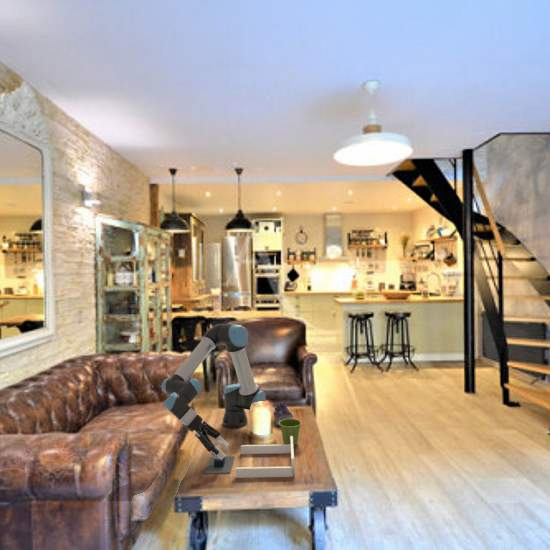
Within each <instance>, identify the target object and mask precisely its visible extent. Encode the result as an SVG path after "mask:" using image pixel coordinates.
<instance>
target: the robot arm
mask: <svg viewBox="0 0 550 550" xmlns="http://www.w3.org/2000/svg"><path fill="white" fill-rule="evenodd" d="M248 342H249V332H248V330H247V329H246V327H244V325H241V324H235V323H234V324H232V323H231V324H230V323H229V324H228V323H219V324H216V325H214V326H212V327H211V328H210V329H208V330H207V331H206V332H205V333H204V334H203V335H202V337H201V338H200V342H199V343H198V344H197V345H196V347H195V348H194V349H193V350H192V352H191V353H190V354H189V356H187V358H186V359H185V361H183V362H182V364H181V365H180V366H179V367H178V369H177V370H176V371H175V373H174V374H173V375H172V377H171V378H165V379H164V380H163V381H162V383H161V386H160V387H161V390H162V393H165V394H166V395H168V397H167V398H166V399H165V401H163V405H164V407H165V408H166V409H167V411H168V412H170V413H171V414H172V415H173V416H174V417H175V418H176V419H177V420H179V421H180V424H183V426H186V428H187V429H188V430H189V431H190V432H192V433H193V432H194V431H195V434H194V436H195V437H196V438H197V439H198V440H199V442H200V443H201V444H202V446H203V447H204V448H205V449H206V450H207V452H209V453H211V452H210V451H212V452H213V453H214V455H216V456H217V457H218V458H219V459H221V460H222V459H223V458H224V457H226V456H227V454H226V455H225V454H224V452H223V451H222V450H221V449H220V448H219V447H218V446H214V445H213V444H214V443H213V441H212V439H210V437H211V438H214V439H215V441H218V440H219V441H220V440H221V441H224V442H225V443H226V444H227V448H228V447H229V445H230V444H229V443H228V442H227V441H226V440H225V439H224V438H223V436H221V433H220V432H219V430H217V429H215V428H214V427H213V426H211V425H210V424H209V423H207V422H206V421H205V420H204V421H203V418H202V417H201V416H200V414H197V412H196V411H195V410H194V409H193V408H192V407H191V406H190V403H191V402H192V401H193V400H194V399H195V397H197V395H199V393H200V391H202V389H203V385H202V383H201V381H200V380H199V379H197V378H195V377H192V375H193V374H194V373H195V372H196V371H197V369H198V368H199V367H200V366H201V364H202V363H203V362H204V360H205V359H206V357H208V355H209V354H210V353H211V352H212V350H215V349H216V348H217V347H218V346H220V345H221V346H225V350H226V352H228V353H229V354H230V357H231V359H232V363H233V366H234V369H235V373H236V376H237V380H238V383H233V384H229V385H226V386H225V388H224V393H223V394H224V414H223V417H222V425H223V426H224V427H225V428H233V429H235V428H241V427H245V426H246V425H248V423H249V422H248V417H247V414H246V413H247V412H246V411H245V410H248V411H251V410H250V406H251V404H252V403H254V402H258V401H265V402H266V399H267V397H266V393H265V391H263V390H261V389H260V386H259V384H258V383H256V382H255V379H254V375H253V372H252V368H251V365H250V361H249V358H248V354H247V351H246V347H247V345H248ZM191 377H192V378H191ZM209 436H210V437H209ZM218 444H219V446H221V447H222V448H223V449H224V450H226V446H225V445H224V444H223V443H218Z"/></svg>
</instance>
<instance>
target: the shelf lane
mask: <svg viewBox="0 0 550 550" xmlns="http://www.w3.org/2000/svg"><path fill="white" fill-rule="evenodd" d="M290 442H291V444H284V443H283V444H282V443H281V444H278V443H277V444H243V445H242V444H241V445H240V455H265V454H267V455H268V454H271V455H272V454H273V455H274V454H290V461H291V462H290V465H291V466H289V465H288V466H248V467H247V466H245V467H243V466H242V467H239V466H238V467H235V479H241V478H242V479H243V478H244V479H247V478H248V479H249V478H250V479H252V478H294V477H295V451H294V446H293V436H290Z"/></svg>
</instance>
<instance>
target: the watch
mask: <svg viewBox="0 0 550 550" xmlns="http://www.w3.org/2000/svg"><path fill="white" fill-rule="evenodd" d="M219 443H223V444H224V445H225V446H226V449H224V450H225V451H224V452H223V453H224V454H225V455H226V456H227V452H228V447H227V444H226V443H225V442H224V441H221V440H220V441H219V440H218V441H216V440H215V441H214V443H213V445H214V446H216V447H218V444H219ZM209 453H210V454H211V457H214V458H215V459H214V468H216V467H224V463H225V457H226V456H225V457H224V458H223V459H222V460H221V459H219V458H218V457H217V456H216V455H215V454H214V453H213V452H212V451H210V452H209Z"/></svg>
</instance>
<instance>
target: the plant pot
mask: <svg viewBox="0 0 550 550" xmlns="http://www.w3.org/2000/svg"><path fill="white" fill-rule="evenodd" d="M279 424H280V426H279V427H280V430H281V436H282V441H283V444H291V442H290V436H293V447H295V446H297V445H298V443H299V437H300V436H299V434H300V428H301V425H302V421H301V420H299V419H296V418H292V419H284V420H281V421H280V422H279Z"/></svg>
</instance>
